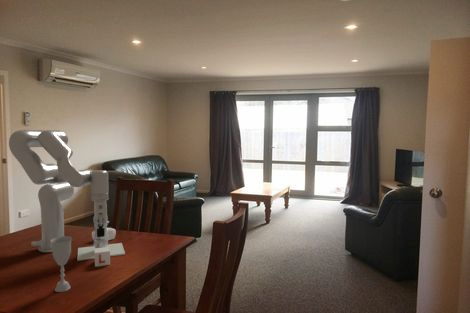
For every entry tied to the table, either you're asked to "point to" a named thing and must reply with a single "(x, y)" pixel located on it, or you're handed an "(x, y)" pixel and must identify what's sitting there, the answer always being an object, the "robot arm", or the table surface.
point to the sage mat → (89, 252)
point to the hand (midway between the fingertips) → (100, 234)
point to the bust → (110, 233)
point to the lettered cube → (102, 256)
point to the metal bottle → (100, 241)
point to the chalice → (61, 258)
